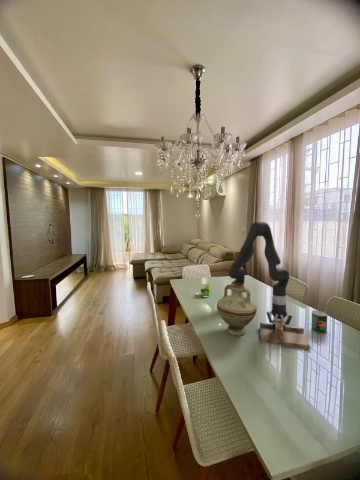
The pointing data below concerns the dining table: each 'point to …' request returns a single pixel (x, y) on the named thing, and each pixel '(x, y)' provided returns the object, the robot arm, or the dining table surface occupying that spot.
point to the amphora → (236, 309)
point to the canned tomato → (319, 321)
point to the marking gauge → (279, 328)
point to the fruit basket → (205, 290)
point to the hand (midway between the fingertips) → (278, 329)
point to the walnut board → (284, 336)
